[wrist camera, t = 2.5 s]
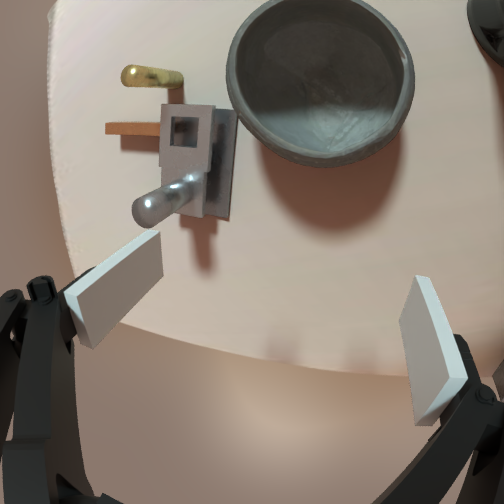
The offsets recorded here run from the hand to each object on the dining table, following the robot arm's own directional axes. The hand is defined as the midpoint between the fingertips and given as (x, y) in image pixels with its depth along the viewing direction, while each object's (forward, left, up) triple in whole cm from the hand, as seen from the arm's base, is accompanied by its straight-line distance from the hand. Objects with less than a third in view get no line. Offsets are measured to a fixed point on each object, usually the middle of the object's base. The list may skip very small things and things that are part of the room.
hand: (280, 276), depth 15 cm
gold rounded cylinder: (-11, -24, -32) cm, 41 cm away
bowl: (-12, -1, -32) cm, 34 cm away
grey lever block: (+2, -24, -32) cm, 40 cm away
